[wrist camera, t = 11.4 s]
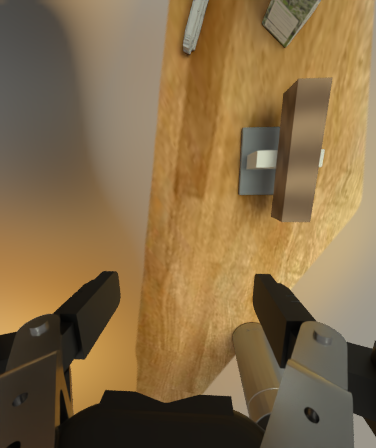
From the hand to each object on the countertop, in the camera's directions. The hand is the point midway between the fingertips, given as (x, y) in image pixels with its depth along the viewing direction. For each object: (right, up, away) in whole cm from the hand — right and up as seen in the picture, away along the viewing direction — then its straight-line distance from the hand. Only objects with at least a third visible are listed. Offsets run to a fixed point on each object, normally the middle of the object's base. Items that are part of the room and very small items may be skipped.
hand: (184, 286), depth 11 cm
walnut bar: (+16, +14, +18) cm, 27 cm away
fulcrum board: (+16, +15, +24) cm, 33 cm away
